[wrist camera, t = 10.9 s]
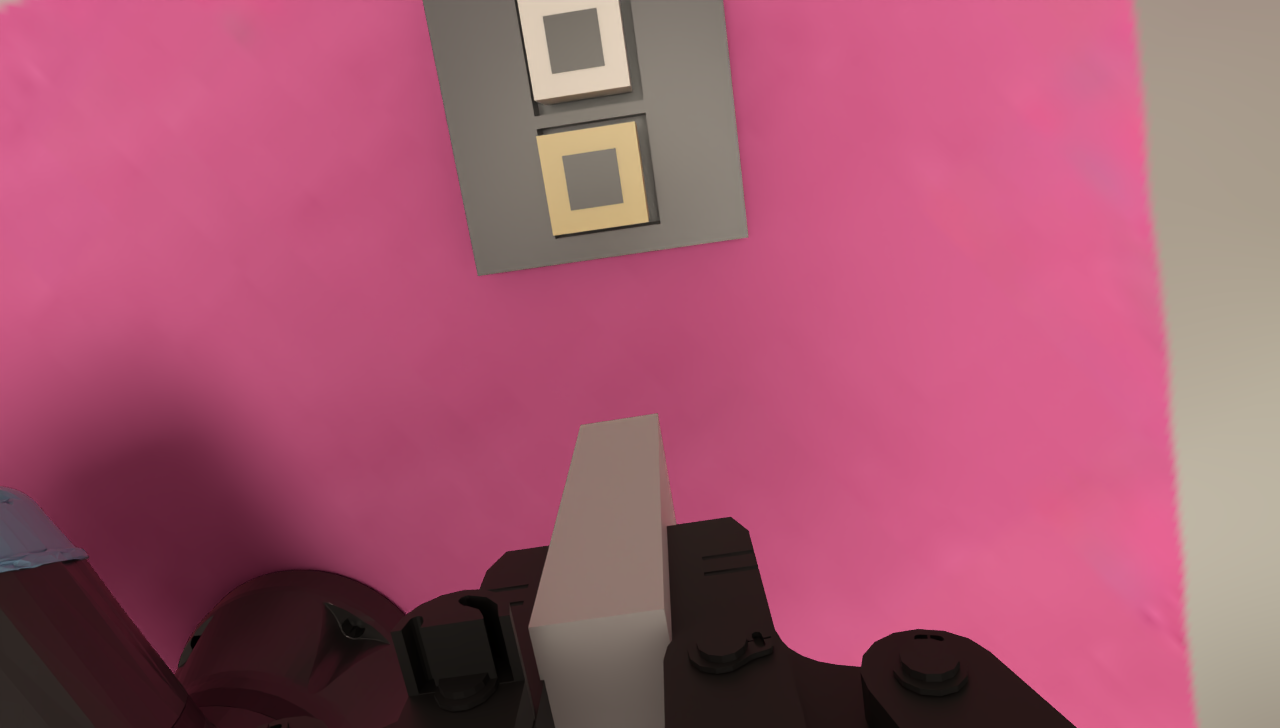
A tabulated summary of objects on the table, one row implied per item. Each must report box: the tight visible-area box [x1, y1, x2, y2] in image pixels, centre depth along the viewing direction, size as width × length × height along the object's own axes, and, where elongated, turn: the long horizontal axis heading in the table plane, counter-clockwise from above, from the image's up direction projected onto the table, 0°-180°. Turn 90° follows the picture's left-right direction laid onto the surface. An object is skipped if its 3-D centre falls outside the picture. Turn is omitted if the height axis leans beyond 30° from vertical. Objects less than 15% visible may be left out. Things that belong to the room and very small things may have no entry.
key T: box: [517, 0, 633, 105], centre depth 36 cm, size 4×4×4 cm
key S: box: [536, 121, 649, 236], centre depth 36 cm, size 4×4×4 cm
